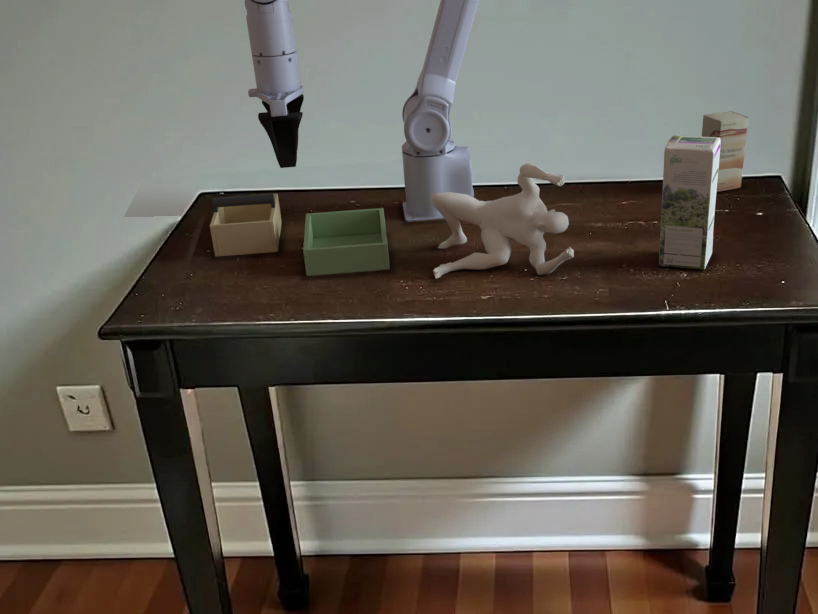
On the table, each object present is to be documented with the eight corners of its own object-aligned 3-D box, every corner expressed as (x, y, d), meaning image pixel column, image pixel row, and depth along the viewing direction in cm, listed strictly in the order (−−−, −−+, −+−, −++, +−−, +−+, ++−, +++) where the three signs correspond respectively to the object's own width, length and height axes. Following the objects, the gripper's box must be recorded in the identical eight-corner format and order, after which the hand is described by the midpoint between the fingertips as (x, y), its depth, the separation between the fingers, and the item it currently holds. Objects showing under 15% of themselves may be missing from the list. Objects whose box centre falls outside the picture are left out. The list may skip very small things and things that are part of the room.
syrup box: (712, 254, 132) (722, 135, 124) (705, 271, 127) (714, 148, 119) (666, 251, 133) (673, 132, 126) (657, 267, 129) (663, 146, 121)
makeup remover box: (713, 193, 152) (719, 121, 147) (696, 185, 156) (700, 114, 150) (743, 187, 154) (750, 115, 149) (725, 180, 157) (731, 109, 152)
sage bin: (385, 234, 143) (383, 207, 141) (390, 271, 131) (387, 243, 129) (309, 240, 142) (305, 213, 140) (306, 278, 130) (303, 250, 128)
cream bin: (282, 224, 148) (275, 180, 145) (277, 254, 138) (271, 208, 135) (224, 228, 148) (216, 185, 144) (215, 259, 138) (207, 212, 134)
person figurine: (407, 189, 123) (561, 157, 120) (423, 181, 135) (563, 152, 132) (431, 300, 127) (581, 271, 125) (445, 282, 139) (581, 256, 137)
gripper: (246, 44, 143) (261, 147, 150) (238, 65, 131) (256, 176, 138) (299, 41, 143) (312, 143, 151) (296, 61, 131) (311, 172, 138)
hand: (289, 159), depth 144 cm, fingers open, 7 cm apart
